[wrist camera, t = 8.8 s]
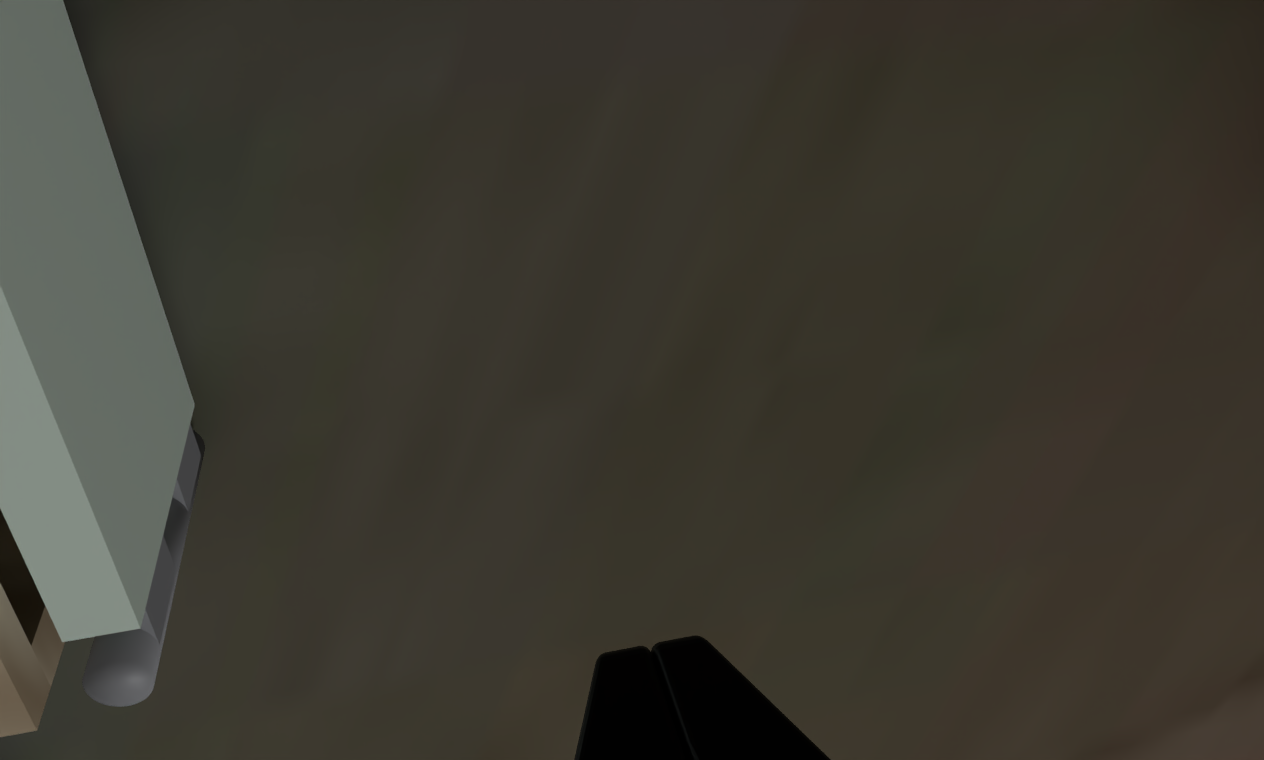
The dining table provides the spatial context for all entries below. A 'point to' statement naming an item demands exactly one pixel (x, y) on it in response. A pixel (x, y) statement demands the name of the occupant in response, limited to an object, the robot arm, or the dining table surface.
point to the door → (85, 369)
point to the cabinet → (23, 642)
